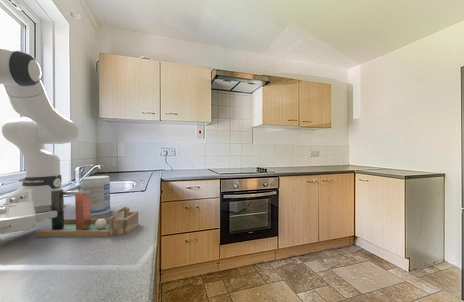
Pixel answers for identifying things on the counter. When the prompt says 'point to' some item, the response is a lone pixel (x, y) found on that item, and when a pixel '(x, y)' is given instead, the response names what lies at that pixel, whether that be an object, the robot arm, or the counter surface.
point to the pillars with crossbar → (80, 208)
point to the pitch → (71, 231)
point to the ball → (100, 223)
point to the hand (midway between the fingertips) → (55, 209)
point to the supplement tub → (97, 193)
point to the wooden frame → (122, 222)
